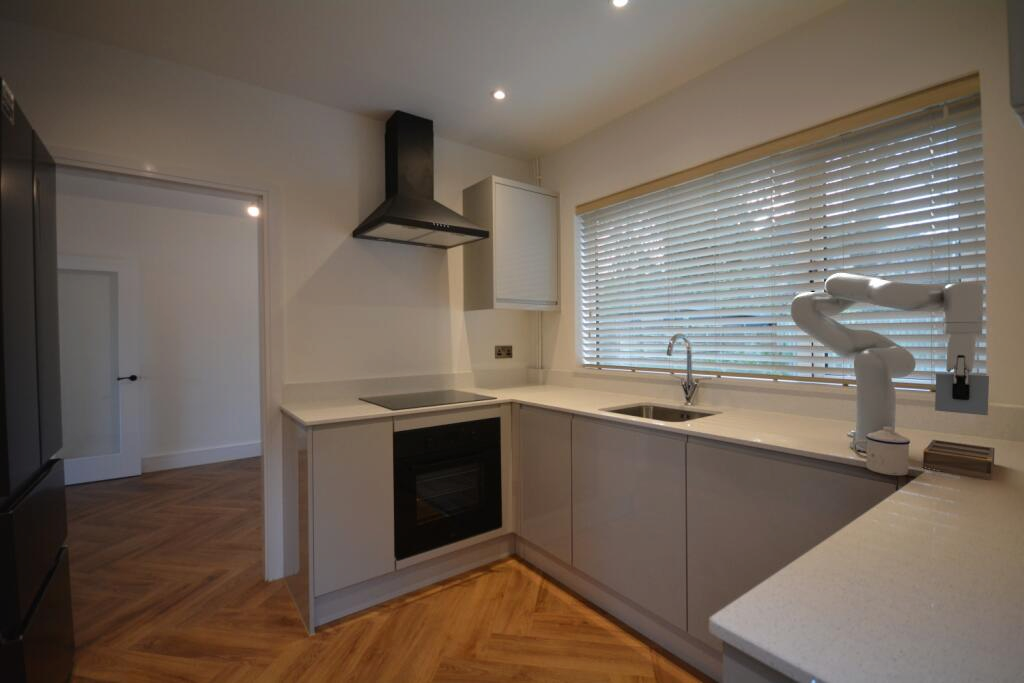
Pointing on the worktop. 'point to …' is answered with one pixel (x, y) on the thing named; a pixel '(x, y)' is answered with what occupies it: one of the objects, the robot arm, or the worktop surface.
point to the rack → (959, 458)
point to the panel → (971, 406)
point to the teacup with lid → (886, 452)
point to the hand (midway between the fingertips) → (960, 398)
